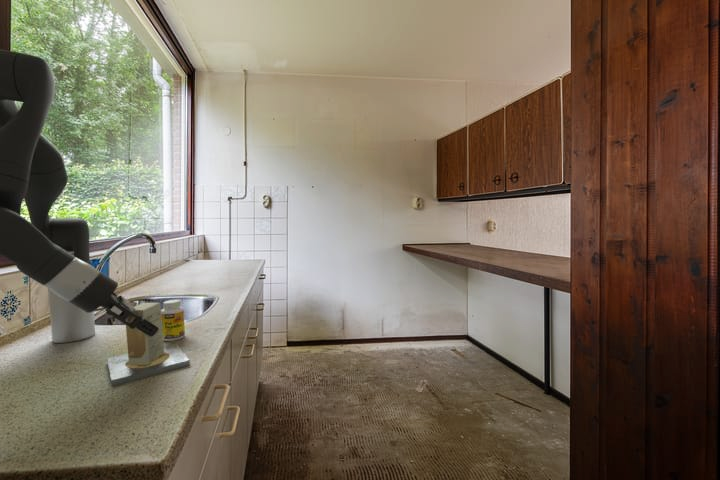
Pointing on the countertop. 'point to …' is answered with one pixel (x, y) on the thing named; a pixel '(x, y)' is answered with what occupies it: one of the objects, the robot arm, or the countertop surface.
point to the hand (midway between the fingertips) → (152, 327)
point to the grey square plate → (165, 362)
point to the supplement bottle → (172, 320)
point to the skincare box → (145, 336)
